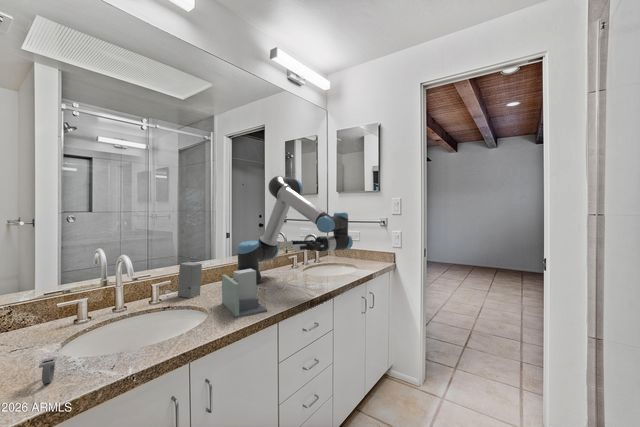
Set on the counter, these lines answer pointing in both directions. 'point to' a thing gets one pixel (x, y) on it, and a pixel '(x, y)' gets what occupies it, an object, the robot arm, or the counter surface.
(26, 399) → the counter surface
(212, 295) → the counter surface
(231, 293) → the holder
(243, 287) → the skincare box
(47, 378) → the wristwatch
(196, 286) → the skincare box
